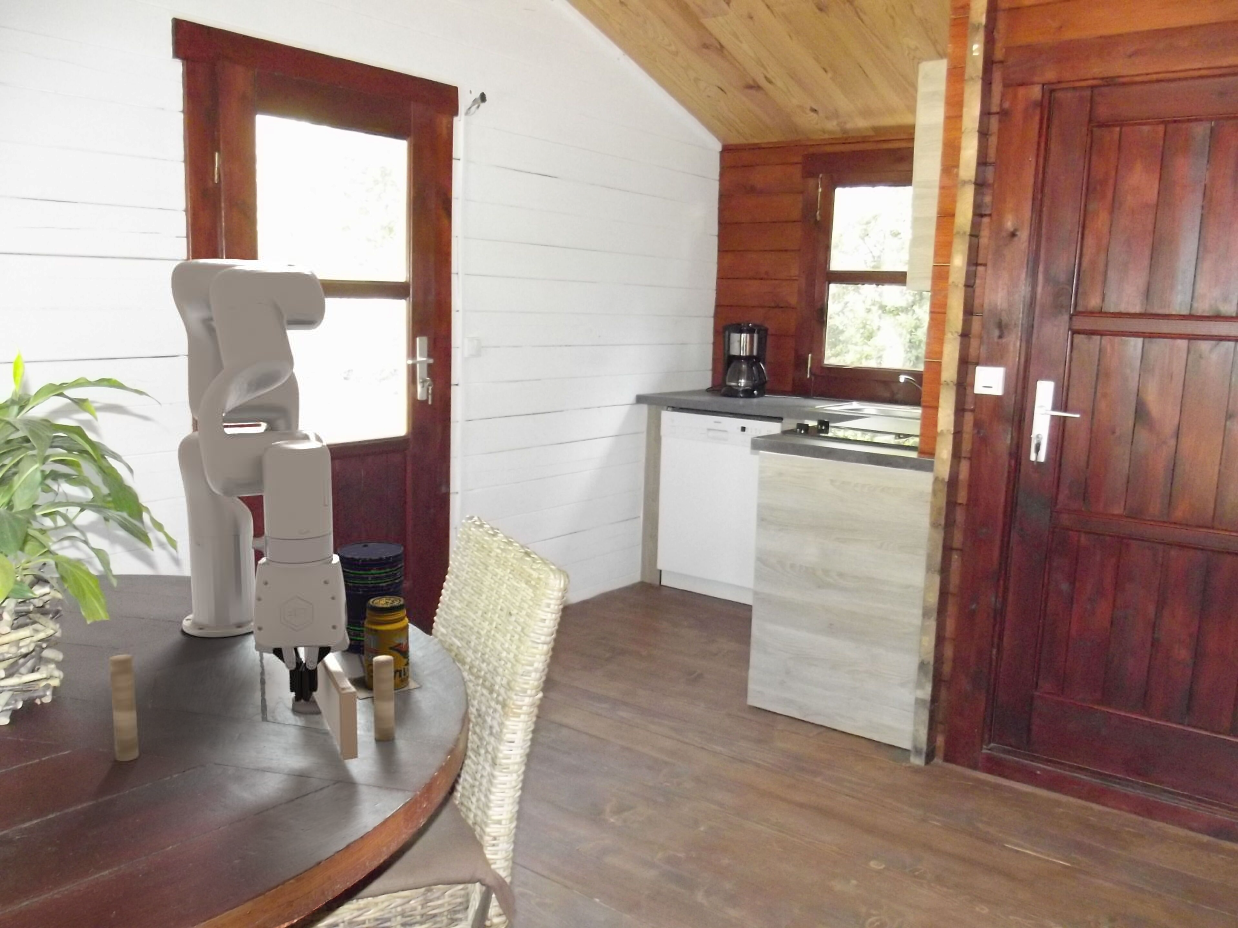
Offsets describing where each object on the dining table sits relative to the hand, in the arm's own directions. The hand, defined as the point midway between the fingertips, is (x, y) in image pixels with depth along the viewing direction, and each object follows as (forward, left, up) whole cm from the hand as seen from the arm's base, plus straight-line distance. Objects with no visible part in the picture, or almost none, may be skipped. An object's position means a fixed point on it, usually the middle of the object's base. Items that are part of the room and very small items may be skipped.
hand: (304, 696), depth 122 cm
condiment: (-11, +16, -6) cm, 21 cm away
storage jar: (-26, +23, -6) cm, 36 cm away
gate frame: (-4, -4, -6) cm, 9 cm away
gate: (-1, +4, -5) cm, 6 cm away
